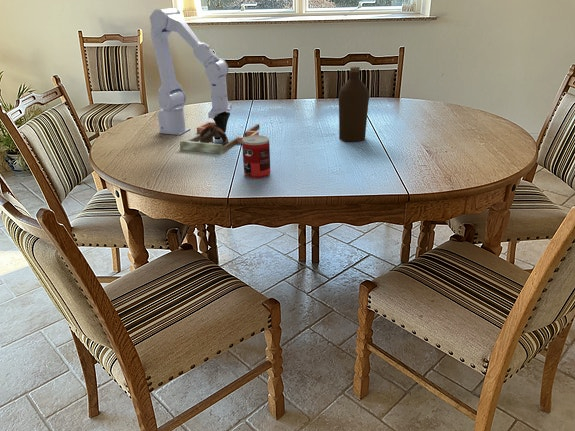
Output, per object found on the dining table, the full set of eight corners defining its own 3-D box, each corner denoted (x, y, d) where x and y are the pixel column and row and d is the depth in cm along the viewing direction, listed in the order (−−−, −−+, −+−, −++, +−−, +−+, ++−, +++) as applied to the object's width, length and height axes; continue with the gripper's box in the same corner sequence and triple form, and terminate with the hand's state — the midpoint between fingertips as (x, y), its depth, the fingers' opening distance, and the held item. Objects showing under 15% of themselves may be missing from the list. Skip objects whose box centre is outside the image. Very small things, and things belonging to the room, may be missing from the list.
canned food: (244, 170, 149) (241, 135, 144) (269, 169, 149) (268, 134, 144) (244, 179, 142) (241, 143, 137) (271, 178, 142) (269, 142, 138)
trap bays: (187, 138, 180) (187, 132, 179) (208, 126, 193) (207, 121, 193) (248, 144, 172) (248, 138, 171) (266, 131, 185) (265, 126, 185)
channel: (180, 149, 168) (179, 141, 167) (222, 124, 195) (222, 117, 194) (221, 153, 163) (220, 145, 162) (259, 127, 190) (259, 120, 189)
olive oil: (345, 144, 170) (347, 71, 159) (332, 136, 179) (334, 66, 168) (372, 140, 173) (376, 68, 162) (358, 132, 182) (361, 63, 171)
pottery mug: (230, 150, 168) (217, 132, 163) (207, 161, 171) (194, 143, 166) (231, 132, 177) (219, 114, 172) (210, 142, 180) (197, 125, 175)
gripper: (219, 100, 165) (222, 139, 171) (238, 92, 177) (240, 128, 183) (201, 99, 167) (205, 137, 174) (221, 91, 180) (223, 126, 186)
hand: (222, 132), depth 179 cm, fingers closed
